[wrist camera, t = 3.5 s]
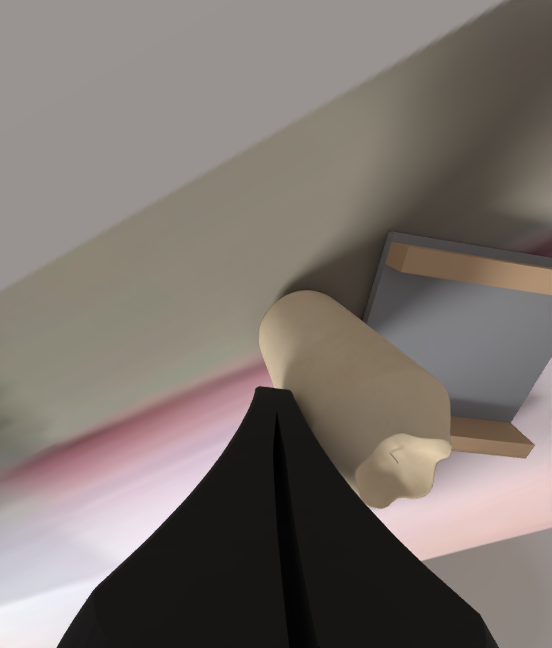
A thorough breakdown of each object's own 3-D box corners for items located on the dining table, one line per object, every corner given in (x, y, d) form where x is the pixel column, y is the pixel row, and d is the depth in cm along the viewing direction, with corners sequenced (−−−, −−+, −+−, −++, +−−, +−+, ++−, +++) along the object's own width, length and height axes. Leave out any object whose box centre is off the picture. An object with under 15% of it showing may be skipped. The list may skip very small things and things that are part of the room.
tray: (491, 432, 21) (522, 463, 18) (334, 414, 20) (343, 444, 18) (592, 264, 16) (653, 274, 13) (388, 231, 15) (412, 235, 13)
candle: (313, 269, 15) (460, 363, 7) (357, 333, 18) (506, 464, 9) (238, 330, 16) (280, 494, 7) (291, 384, 18) (372, 556, 9)
